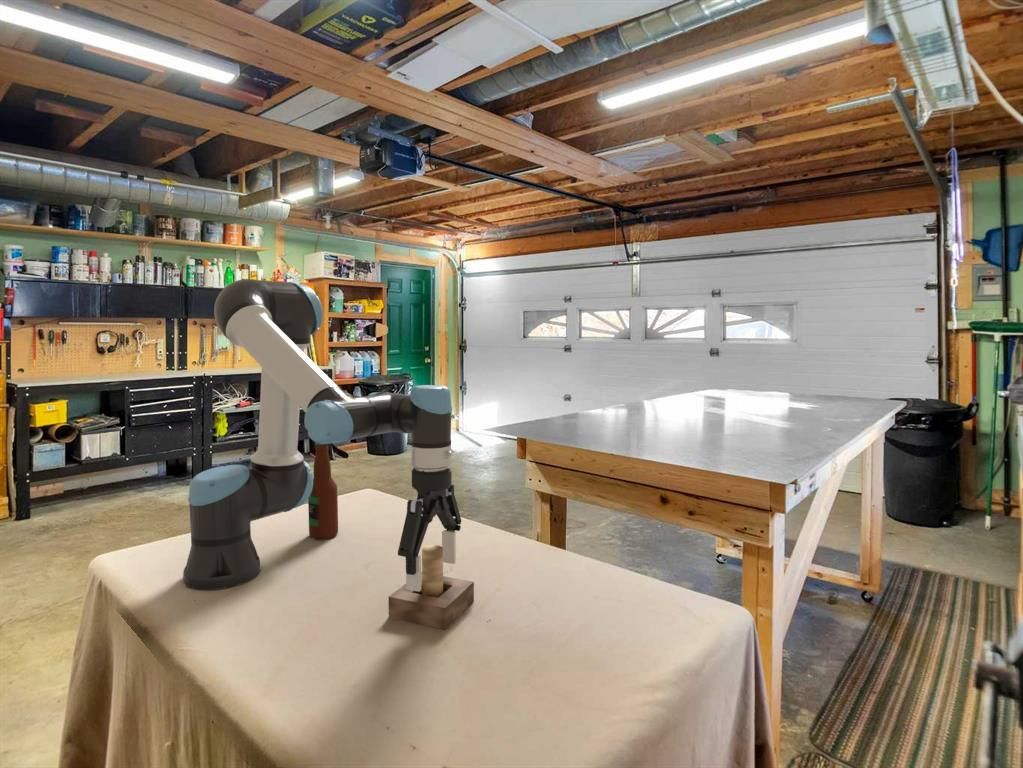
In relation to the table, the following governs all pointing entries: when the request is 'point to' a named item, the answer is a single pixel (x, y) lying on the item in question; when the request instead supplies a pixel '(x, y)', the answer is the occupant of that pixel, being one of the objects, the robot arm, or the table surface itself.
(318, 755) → the table surface
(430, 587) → the oak peg
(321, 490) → the bottle
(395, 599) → the walnut socket
